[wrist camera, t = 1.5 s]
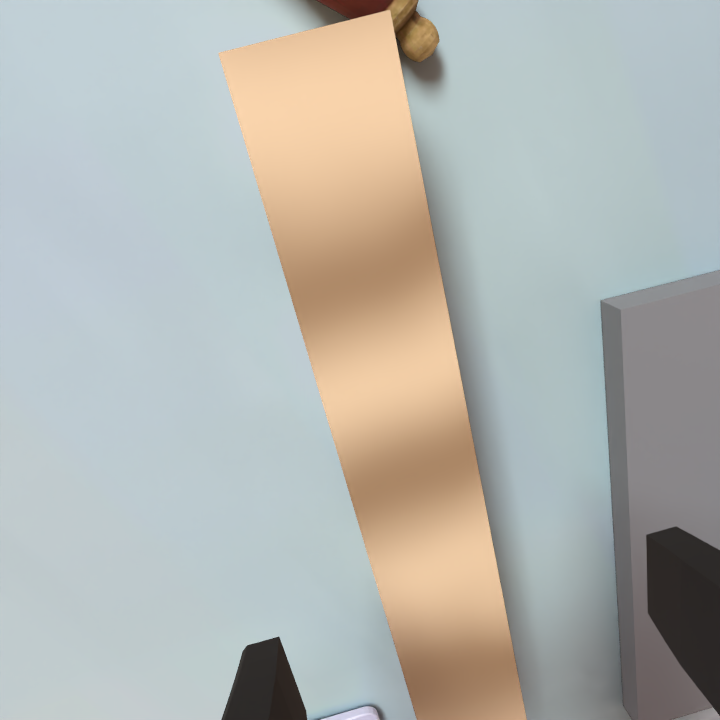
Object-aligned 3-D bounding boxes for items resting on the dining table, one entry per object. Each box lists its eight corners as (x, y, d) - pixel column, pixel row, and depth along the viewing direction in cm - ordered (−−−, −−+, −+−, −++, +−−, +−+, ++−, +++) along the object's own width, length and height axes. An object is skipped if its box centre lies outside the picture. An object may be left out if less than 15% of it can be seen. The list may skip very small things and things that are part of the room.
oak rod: (479, 623, 24) (529, 736, 20) (399, 648, 24) (431, 768, 20) (354, 48, 16) (389, 9, 12) (232, 79, 16) (218, 53, 11)
